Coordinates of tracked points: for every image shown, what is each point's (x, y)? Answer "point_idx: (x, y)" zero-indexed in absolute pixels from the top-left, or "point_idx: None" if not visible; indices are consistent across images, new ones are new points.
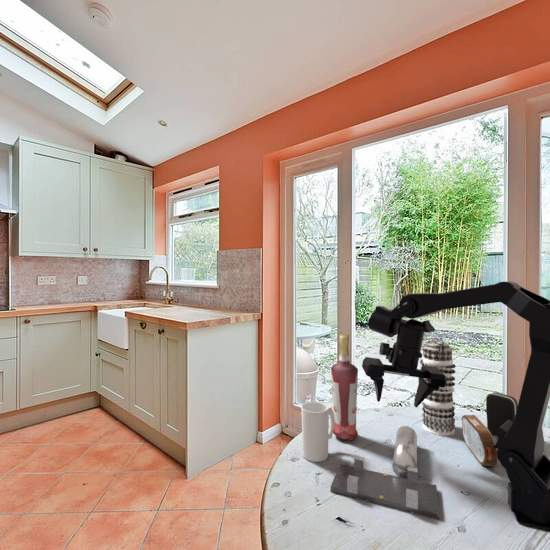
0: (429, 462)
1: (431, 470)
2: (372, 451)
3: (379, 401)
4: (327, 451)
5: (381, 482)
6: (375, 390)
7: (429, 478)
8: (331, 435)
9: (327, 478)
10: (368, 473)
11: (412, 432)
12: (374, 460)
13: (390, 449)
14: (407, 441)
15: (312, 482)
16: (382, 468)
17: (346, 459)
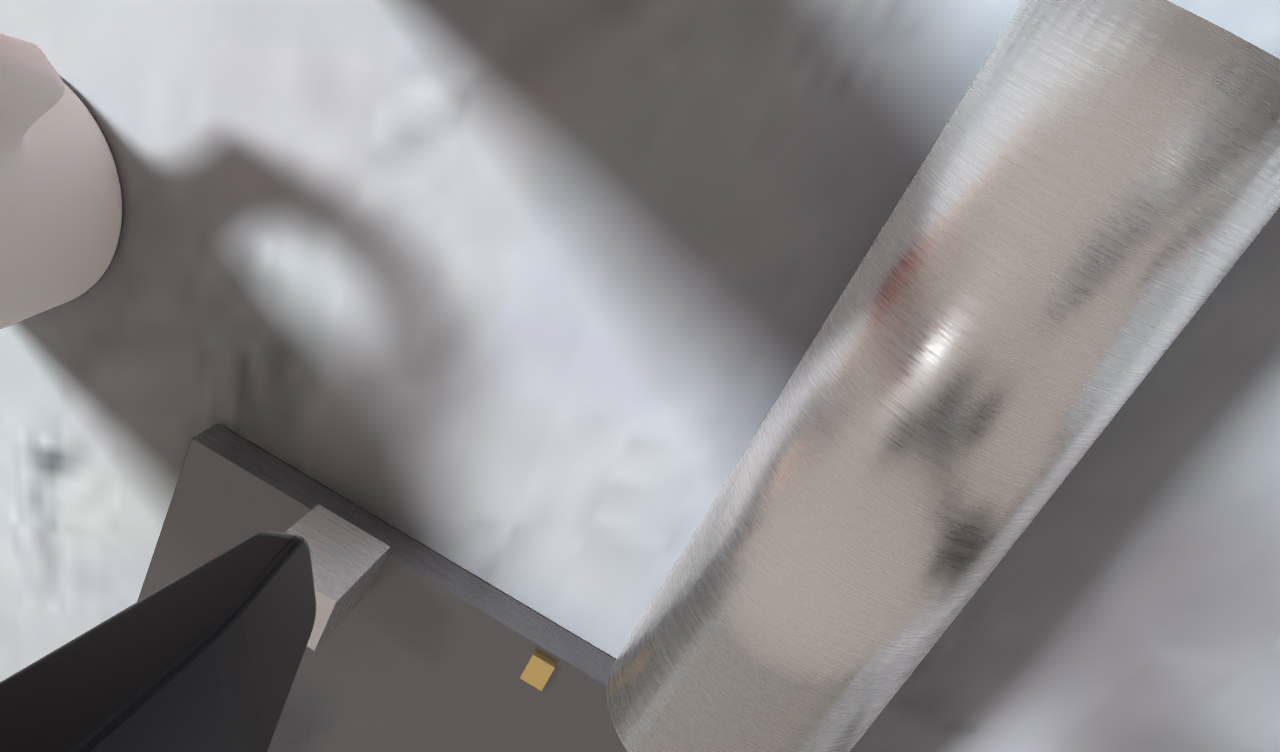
0: (1172, 482)
1: (1083, 611)
2: (601, 167)
3: (307, 635)
4: (68, 267)
5: (475, 740)
6: (28, 688)
7: (969, 708)
8: (35, 103)
9: (116, 531)
10: (405, 617)
11: (1221, 227)
12: (562, 349)
13: (846, 144)
14: (921, 527)
15: (16, 554)
16: (592, 490)
17: (291, 291)
